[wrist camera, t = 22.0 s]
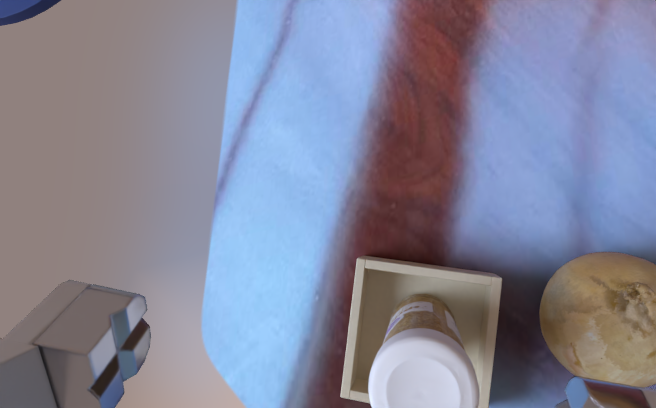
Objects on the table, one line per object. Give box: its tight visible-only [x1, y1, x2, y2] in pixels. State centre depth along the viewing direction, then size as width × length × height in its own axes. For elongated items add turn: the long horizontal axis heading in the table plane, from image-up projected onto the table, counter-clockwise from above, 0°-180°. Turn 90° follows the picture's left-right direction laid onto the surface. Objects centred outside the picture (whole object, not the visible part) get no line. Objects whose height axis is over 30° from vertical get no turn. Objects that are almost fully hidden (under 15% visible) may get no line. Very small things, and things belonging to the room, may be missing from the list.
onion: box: [539, 252, 656, 388], centre depth 27 cm, size 8×8×7 cm
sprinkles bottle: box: [368, 294, 480, 408], centre depth 25 cm, size 5×5×13 cm
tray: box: [341, 256, 502, 408], centre depth 31 cm, size 9×9×3 cm
